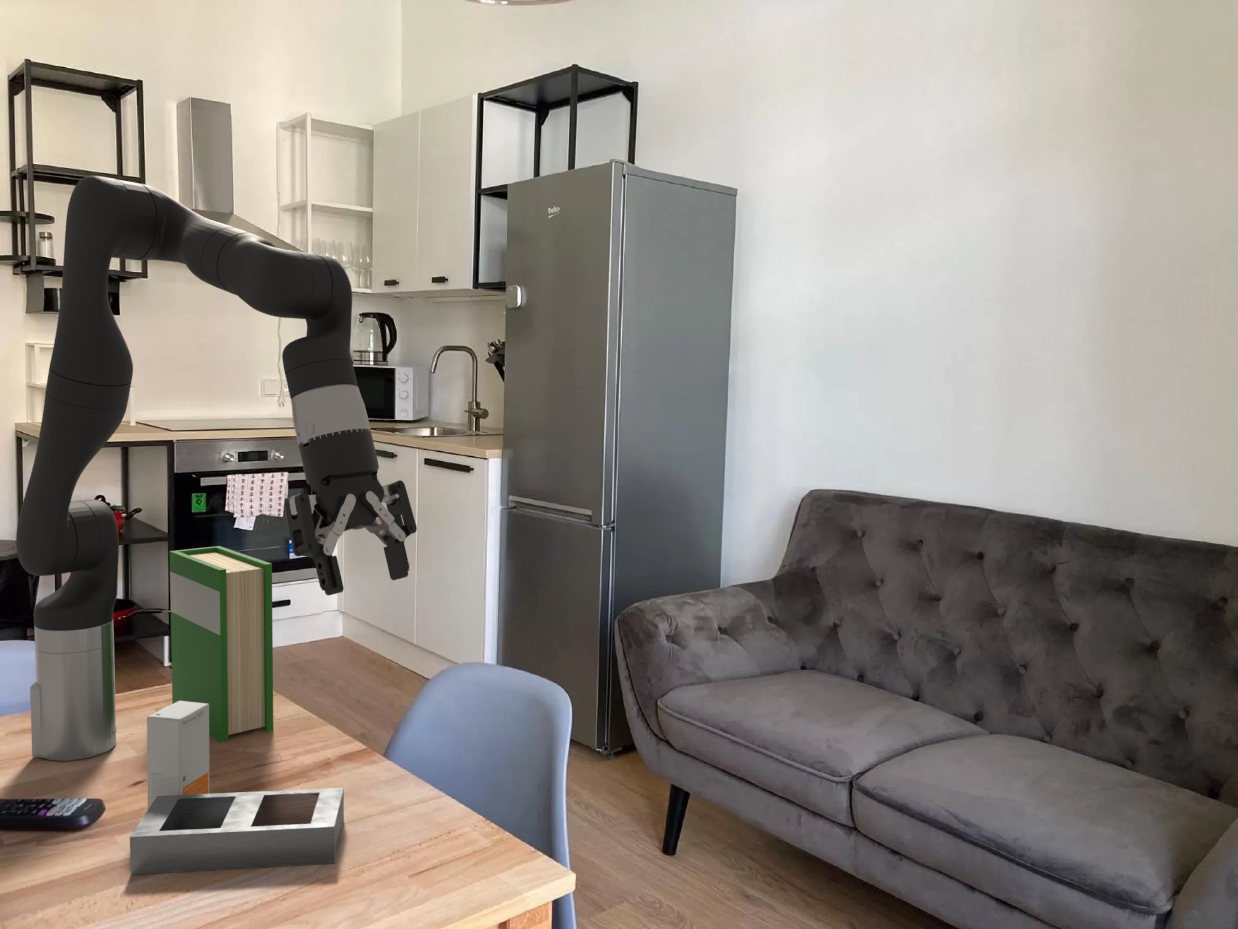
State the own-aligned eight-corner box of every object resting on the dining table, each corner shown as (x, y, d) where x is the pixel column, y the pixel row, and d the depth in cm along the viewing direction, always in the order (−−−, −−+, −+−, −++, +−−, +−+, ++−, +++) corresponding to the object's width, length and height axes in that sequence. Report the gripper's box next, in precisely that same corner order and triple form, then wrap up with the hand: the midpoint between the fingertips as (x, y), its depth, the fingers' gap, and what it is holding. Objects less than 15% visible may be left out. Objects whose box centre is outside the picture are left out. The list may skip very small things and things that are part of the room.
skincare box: (180, 822, 116) (178, 719, 115) (146, 818, 117) (144, 716, 116) (212, 800, 122) (210, 702, 121) (179, 797, 123) (177, 699, 122)
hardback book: (273, 730, 146) (271, 563, 143) (221, 743, 141) (219, 570, 138) (221, 700, 158) (219, 546, 156) (172, 710, 153) (169, 551, 151)
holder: (130, 875, 104) (129, 837, 104) (157, 830, 114) (157, 796, 114) (334, 863, 107) (334, 826, 107) (343, 821, 117) (343, 788, 117)
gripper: (365, 439, 116) (398, 580, 115) (254, 448, 104) (289, 605, 103) (408, 422, 111) (442, 568, 110) (297, 430, 100) (334, 593, 99)
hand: (368, 586), depth 107 cm, fingers open, 8 cm apart
